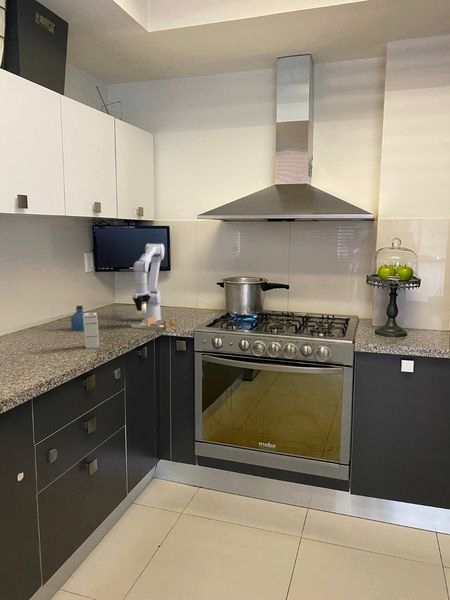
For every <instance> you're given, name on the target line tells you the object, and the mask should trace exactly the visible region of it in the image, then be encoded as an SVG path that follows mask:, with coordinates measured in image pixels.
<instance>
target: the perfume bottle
mask: <svg viewBox="0 0 450 600" xmlns="http://www.w3.org/2000/svg"><path fill="white" fill-rule="evenodd" d="M75 307H76V308H75V311H76V312H73V314H72V316H71V319H70V322H71V331H75V330H77V331H78V332H79V331H80V332H84V321H83V313H87V312H86V311H84V307H83V305H76V306H75Z"/></svg>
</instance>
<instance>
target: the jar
mask: <svg viewBox="0 0 450 600" xmlns="http://www.w3.org/2000/svg"><path fill="white" fill-rule="evenodd" d="M146 303H147V302H145V301H142V309H141V311H137V310H136V315H145V314H146Z"/></svg>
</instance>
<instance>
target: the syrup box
mask: <svg viewBox="0 0 450 600" xmlns="http://www.w3.org/2000/svg"><path fill="white" fill-rule="evenodd" d="M83 321H84V331H83V335H84V336H83V337H84V347H85V349H94V348H100V343H99V341H100V340H99V338H100V337H99V324H98V314H97V312H86V313H83Z"/></svg>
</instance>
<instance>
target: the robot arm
mask: <svg viewBox="0 0 450 600" xmlns="http://www.w3.org/2000/svg"><path fill="white" fill-rule="evenodd" d="M144 251H145V253H143V254H142V255H141V256H140V258H139V259H138V260H137V261H135V262H134V263H133V271H134V272H133V273H134V276H135V292H133V293H132V301H133V302H134V304H135V306H136V307H135V308H136V312H137V311H141V309H142V301H145V302H147V303H146V314H144V319H141V322H142V321H146V319H148V318H151V317H154V316H156V321H157V322H159V321H161V320H162V319H163V317H161V316H162V315H161V310H162V309H161V306H160V303H161V302H162V301H161V299H162V297H161V294H162V293H161V291H160V289H158V288H157V287H158V282H159V281H158V279H159V273H160V272H159V271H160V266H161V262H162V261H163V260H164V257H165V245H164V243H146V245H145V247H144ZM149 267H150V272H149V277H148V275H147V273H148V271H149ZM147 277H148V278H149V279H148V278H147Z"/></svg>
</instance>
